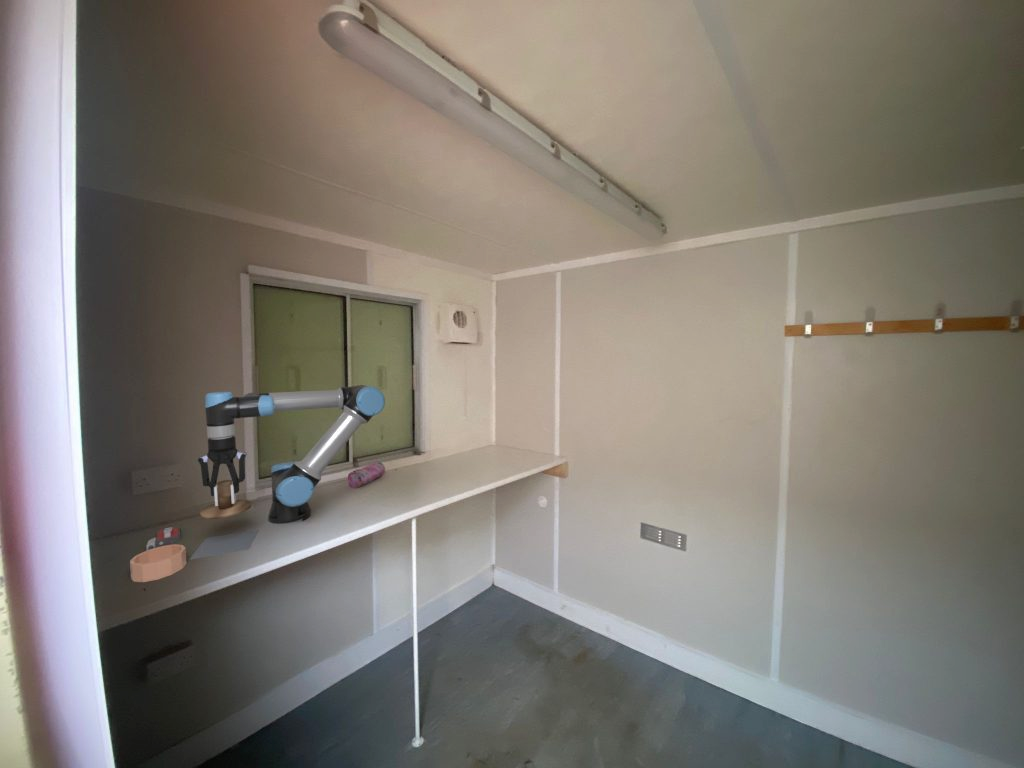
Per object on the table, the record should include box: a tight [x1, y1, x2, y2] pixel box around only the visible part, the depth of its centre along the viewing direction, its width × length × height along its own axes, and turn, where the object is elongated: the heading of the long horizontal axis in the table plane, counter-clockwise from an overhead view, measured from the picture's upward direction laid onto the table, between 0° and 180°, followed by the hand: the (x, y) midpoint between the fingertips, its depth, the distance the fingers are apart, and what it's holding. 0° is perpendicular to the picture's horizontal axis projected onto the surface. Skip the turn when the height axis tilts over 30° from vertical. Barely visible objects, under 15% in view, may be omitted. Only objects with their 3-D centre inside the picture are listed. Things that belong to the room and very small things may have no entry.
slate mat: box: [188, 529, 259, 561], centre depth 131 cm, size 16×16×1 cm
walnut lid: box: [199, 479, 252, 520], centre depth 130 cm, size 14×14×10 cm
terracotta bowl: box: [129, 543, 187, 583], centre depth 114 cm, size 12×12×6 cm
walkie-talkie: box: [145, 525, 182, 551], centre depth 132 cm, size 9×4×20 cm
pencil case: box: [347, 461, 386, 489], centre depth 199 cm, size 21×9×9 cm, turn 162°
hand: (226, 503), depth 130 cm, fingers closed on walnut lid, 4 cm apart
